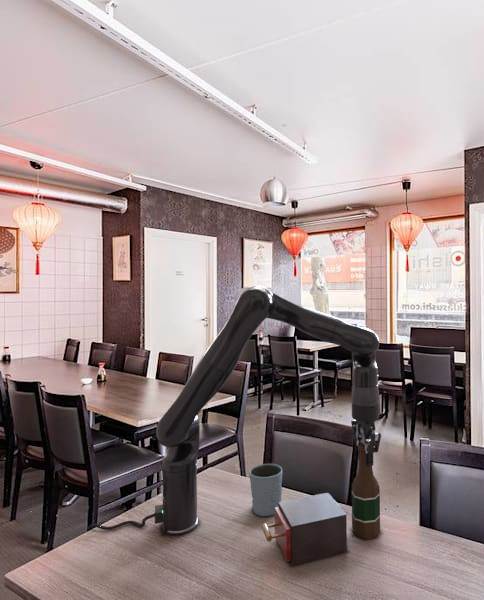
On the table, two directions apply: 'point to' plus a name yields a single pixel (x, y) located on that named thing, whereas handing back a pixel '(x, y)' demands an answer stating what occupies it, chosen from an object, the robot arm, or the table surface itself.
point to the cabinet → (315, 527)
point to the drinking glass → (266, 488)
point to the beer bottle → (365, 500)
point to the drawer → (280, 533)
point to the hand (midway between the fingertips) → (365, 462)
